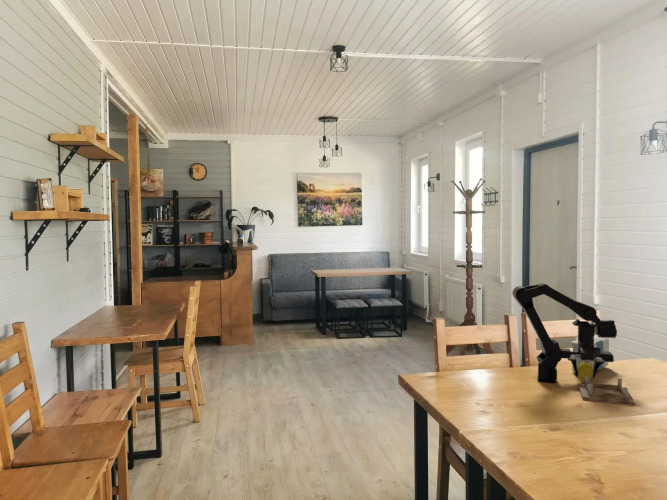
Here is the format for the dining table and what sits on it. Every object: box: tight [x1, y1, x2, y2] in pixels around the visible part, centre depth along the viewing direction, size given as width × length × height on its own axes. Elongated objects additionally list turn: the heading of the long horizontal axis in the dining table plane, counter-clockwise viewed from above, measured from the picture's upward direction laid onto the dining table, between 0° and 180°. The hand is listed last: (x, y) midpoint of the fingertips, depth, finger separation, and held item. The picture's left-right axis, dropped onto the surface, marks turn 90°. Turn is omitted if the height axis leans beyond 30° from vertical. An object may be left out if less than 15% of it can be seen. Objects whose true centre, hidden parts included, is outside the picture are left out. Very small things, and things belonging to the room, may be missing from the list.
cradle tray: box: [577, 375, 636, 406], centre depth 183 cm, size 16×16×5 cm
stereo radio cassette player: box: [570, 321, 610, 374], centre depth 214 cm, size 21×8×20 cm, turn 132°
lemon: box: [577, 362, 593, 383], centre depth 198 cm, size 6×6×8 cm
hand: (585, 376), depth 199 cm, fingers closed on lemon, 5 cm apart
